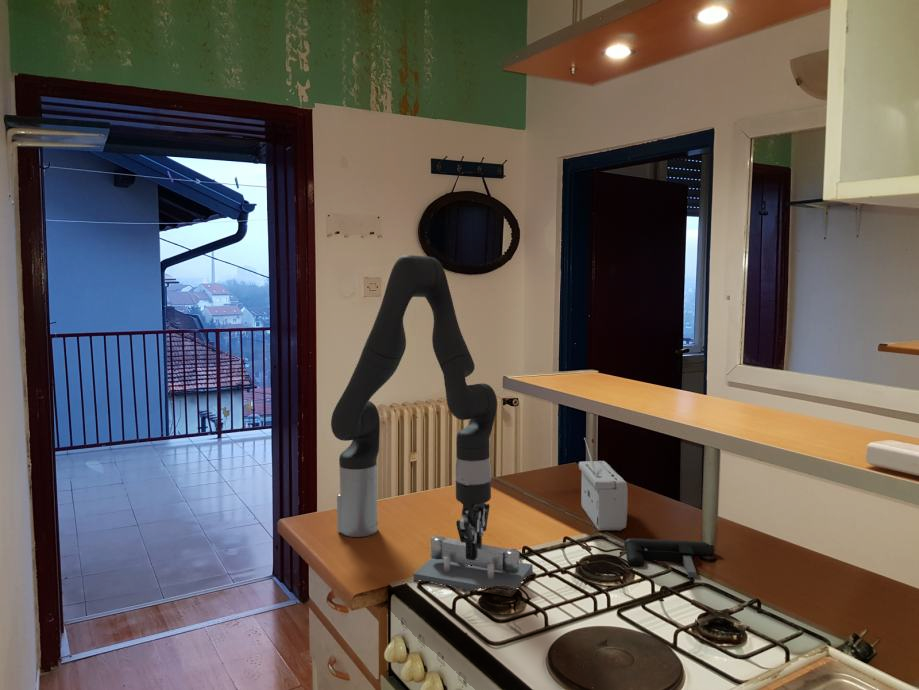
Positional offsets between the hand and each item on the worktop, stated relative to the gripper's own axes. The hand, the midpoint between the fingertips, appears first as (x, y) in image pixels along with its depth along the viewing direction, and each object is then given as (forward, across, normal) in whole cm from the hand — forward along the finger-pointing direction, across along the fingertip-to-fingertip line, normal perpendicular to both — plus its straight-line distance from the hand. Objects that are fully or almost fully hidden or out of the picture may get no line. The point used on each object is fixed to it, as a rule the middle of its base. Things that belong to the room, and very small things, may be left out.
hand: (473, 556), depth 150 cm
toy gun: (+5, -24, +38) cm, 45 cm away
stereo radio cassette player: (+5, -46, +18) cm, 50 cm away
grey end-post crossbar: (+2, 0, 0) cm, 2 cm away
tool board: (+4, 0, 0) cm, 4 cm away
